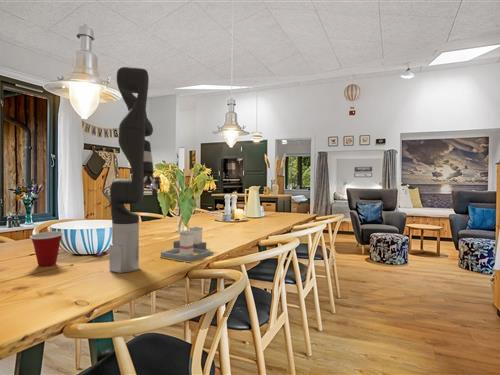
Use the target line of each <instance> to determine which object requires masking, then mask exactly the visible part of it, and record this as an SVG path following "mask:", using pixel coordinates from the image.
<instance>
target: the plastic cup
mask: <svg viewBox="0 0 500 375" xmlns="http://www.w3.org/2000/svg"><path fill="white" fill-rule="evenodd" d="M63 234H64V232H62V231H56V230H55V231H54V230H53V231H45V232H39V233H34V234H32V235H30V236H29V238H30V239H31V241H32V243H33V246H34V252H35V257H36V262H37V264H38V267H42V268H43V267H51V266H55V265H56V264H57V260H58V255H59V250H60V245H61V240H62V236H63Z"/></svg>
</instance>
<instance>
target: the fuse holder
mask: <svg viewBox="0 0 500 375" xmlns="http://www.w3.org/2000/svg"><path fill="white" fill-rule="evenodd" d="M176 248H180V239H178V240H174V241H173V249H176ZM193 248H195V249H202V250H207V242H205V241H202V243H200V244H193Z"/></svg>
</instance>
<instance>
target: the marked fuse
mask: <svg viewBox="0 0 500 375" xmlns="http://www.w3.org/2000/svg"><path fill="white" fill-rule="evenodd" d="M193 234H194V232H190V231H188V230H187V231H181V232H179V240H180V252H179V254H178V255H183V256H189V257H190V256H194V252H193Z"/></svg>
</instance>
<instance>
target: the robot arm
mask: <svg viewBox="0 0 500 375" xmlns="http://www.w3.org/2000/svg"><path fill="white" fill-rule="evenodd" d="M149 78H150V77H149V72H148V70H147V69H145V68H140V67H131V66H130V67H129V66H121V67H119V68H118V69H117V72H116V84H117V88H118V91H119V93H120V96H121V98H122V100H123V102H124V103H125V105H126V107H127V111H128V112H127V113H126V114H125V116H123V118H122V120H121V121H120V123H119V126H118V138H117V140H118V145H119V148H120V150H121V151H122V152H123V156H125V157H126V159H127V161H128V163H129V166H130V169H131V175H130V178H115V179H113V180H112V182H111V183H110V190H109V192H110V194H109V197H110V216H111V223H112V224H111V227H112V228H111V243H110V244H109V272H114V273H119V274H122V273H130V272H134V271H137V270H139V267H140V264H139V262H140V260H139V259H140V257H139V256H140V253H139V252H140V216H139V214H138V213H135V212H133V211H131V210H129V209H128V208H126V207H125V205H139V204H141V203H142V202H143V199H144V193H145V190H144V189H145V186H148V188H149V189H150V190H151V196H152V200H156V199H157V198H158V190H161V183H160V177H159V176H154V173H155V172H154V162H153V156H152V147H151V142H150V141H149V140H147V139H146V138H147V137H151V136H152V134H153V132H154V127H153V124H152V123H151V121H150V120H149V118H148V116H147V103H148V100H147V99H148V91H149V83H150V82H149ZM134 94H137V97H136V95H134Z"/></svg>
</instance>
